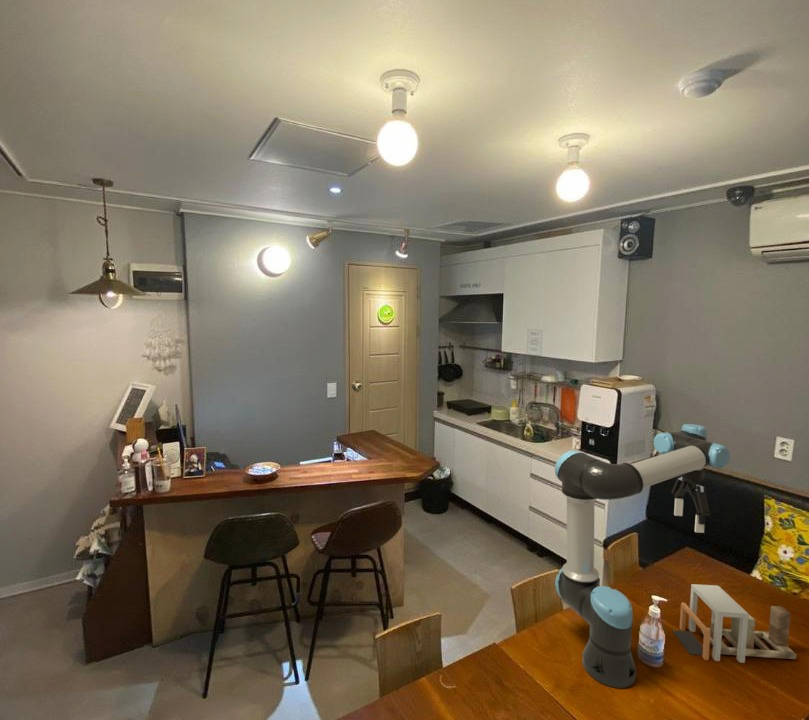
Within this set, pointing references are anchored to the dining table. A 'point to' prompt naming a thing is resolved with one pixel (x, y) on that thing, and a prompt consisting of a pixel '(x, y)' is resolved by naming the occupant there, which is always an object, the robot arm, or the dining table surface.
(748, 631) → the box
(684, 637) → the pit mat
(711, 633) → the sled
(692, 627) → the grey and orange stand
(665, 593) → the dining table surface
